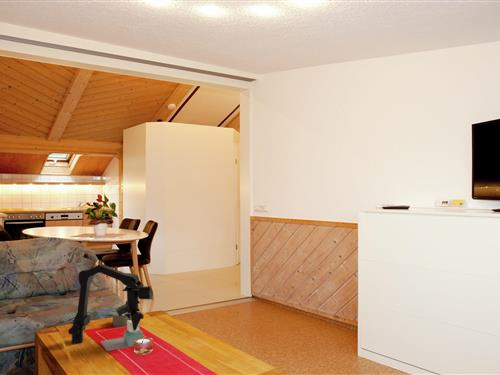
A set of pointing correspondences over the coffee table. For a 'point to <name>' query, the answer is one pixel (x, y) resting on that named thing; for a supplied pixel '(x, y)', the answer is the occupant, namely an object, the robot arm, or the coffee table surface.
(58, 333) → the coffee table surface
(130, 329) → the off-white block
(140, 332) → the plate
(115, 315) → the can
